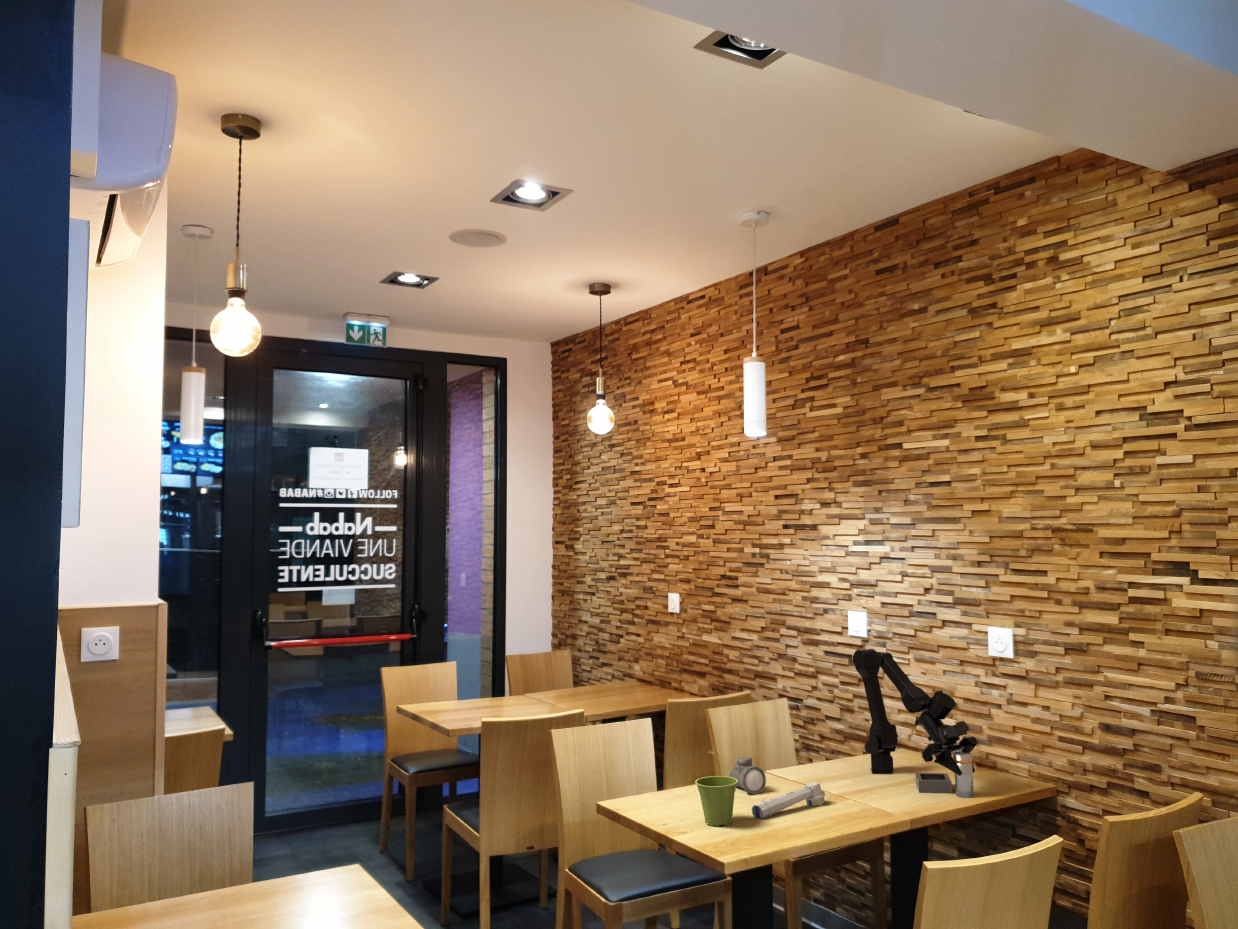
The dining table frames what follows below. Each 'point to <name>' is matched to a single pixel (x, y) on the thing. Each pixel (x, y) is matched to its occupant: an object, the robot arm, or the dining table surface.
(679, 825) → the dining table surface
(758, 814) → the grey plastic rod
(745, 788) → the pipe fitting
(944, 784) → the collar
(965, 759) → the tube
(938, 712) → the robot arm
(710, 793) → the plant pot
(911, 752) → the dining table surface
